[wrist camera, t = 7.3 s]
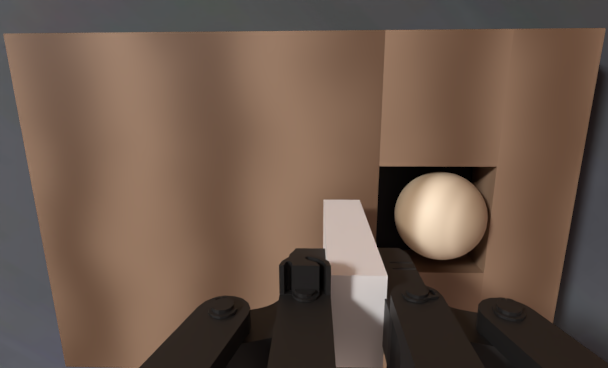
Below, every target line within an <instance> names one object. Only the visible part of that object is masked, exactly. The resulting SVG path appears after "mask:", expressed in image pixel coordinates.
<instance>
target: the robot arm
mask: <svg viewBox="0 0 608 368" xmlns="http://www.w3.org/2000/svg"><path fill="white" fill-rule="evenodd" d="M279 294H280V295H279V300H278V301H276V302H275V303H273V304H271V305H269V306H266V307H262V308H258V309H252V310H250V306H249V303H248V302H247V301H246V300H244V299H243V298H240V297H236V296H227V295H225V296H218V297H214V298H212V299H209V300H207V301H205V302H203V303H202V304H201V305H199V306H198V307H197V308H196V309H195V310H194V311H193V312H192V313H191V314H190V315H189V316H188V317H187V318H186V319H185V321H184V322H183V323H182V324H181V325H180V326H179V327H178V328H177V329H176V330H175V331H174V332H173V333H172V334H171V335H170V336H169V337H168V338H167V339H166V340H165V341H164V342H163V343H162V344H161V345H160V346H159V347H158V349H157V350H156V351H155V352H154V353H153V354H152V355H151V356H150V357H149V358H148V359H147V360H146V361H145V362H144V363H143V364H142V365H141V366H140V367H139V368H336V367H352V368H383V353H384V355H385V359H386V363H387V367H386V368H608V363H607V362H605V361H604V360H602V359H601V358H600V357H598V356H597V355H596V354H594V353H593V352H591V351H590V350H589V349H587V348H586V347H584V346H583V345H582V344H580V343H579V342H578V341H576V340H575V339H573V338H572V337H571V336H569V335H568V334H566V333H565V332H564V331H562V330H561V329H560V328H558V327H557V326H555V325H554V324H553V323H551V322H550V321H548V320H547V319H546V318H544V317H543V316H542V315H540V314H539V313H537V312H536V311H535V310H533V309H532V308H530V307H528V306H526V305H525V304H523V303H520V302H517V301H515V300H513V299H509V298H507V299H505V298H502V297H499V298H488V299H484V300H482V301H481V302H480V303H479V304H478V312H477V313H476V312H471V311H466V310H460V309H456V308H452V307H450V306H448V304H447V302H446V301H445V299H444V297H443V296H442V295H441V294H440V293H439V292H438V291H437V290H435V289H433V288H431V287H429V286H426V285H425V284H424V282H423V280H422V278H421V276H420V275H419V273H418V271H417V270H416V267H415V265H414V264H413V262H412V260H411V258H410V256H409V254H407V253H406V252H404V251H403V250H401V249H400V248H377V245H376V243H375V240H374V237H373V235H372V232H371V229H370V227H369V224H368V221H367V218H366V216H365V213H364V210H363V208H362V205H361V202H360V200H323V248H296V249H295V250H294V251H293V252H292V253H291V254H289V257H288V258H286V259H284V260H282V261H281V263H280V264H279Z"/></svg>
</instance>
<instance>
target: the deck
mask: <svg viewBox="0 0 608 368" xmlns="http://www.w3.org/2000/svg"><path fill="white" fill-rule="evenodd" d="M605 29H606V28H569V29H459V30H349V31H239V32H129V33H19V34H3V35H4V40H5V45H6V51H7V56H8V61H9V67H10V72H11V77H12V83H13V88H14V93H15V99H16V104H17V109H18V114H19V120H20V125H21V130H22V136H23V141H24V146H25V152H26V157H27V162H28V168H29V173H30V178H31V184H32V189H33V194H34V200H35V205H36V210H37V216H38V221H39V226H40V231H41V237H42V242H43V247H44V253H45V258H46V263H47V269H48V274H49V279H50V285H51V290H52V295H53V301H54V306H55V311H56V317H57V322H58V327H59V333H60V338H61V343H62V348H63V354H64V359H65V364H66V366H67V367H120V368H139V367H140V366H141V365H142V364H143V363H144V362H145V361H146V360H147V359H148V358H149V357H150V356H151V355H152V354H153V353H154V352H155V351H156V350H157V349H158V347H159V346H160V345H161V344H162V343H163V342H164V341H165V340H166V339H167V338H168V337H169V336H170V335H171V334H172V333H173V332H174V331H175V330H176V329H177V328H178V327H179V326H180V325H181V324H182V323H183V322H184V321H185V319H186V318H187V317H188V316H189V315H190V314H191V313H192V312H193V311H194V310H195V309H196V308H197V307H198V306H199V305H201V304H202V303H203V302H205V301H207V300H209V299H212V298H214V297H218V296H225V295H227V296H236V297H240V298H243V299H244V300H246V301H247V302H248V303H249V306H250V310H252V309H258V308H262V307H266V306H269V305H271V304H273V303H275V302H276V301H278V300H279V295H280V294H279V264H280V263H281V261H282V260H284V259H286V258H288V257H289V254H291V253H292V252H293V251H294V250H295V249H296V248H323V200H360V202H361V205H362V208H363V210H364V213H365V216H366V218H367V221H368V224H369V227H370V229H371V232H372V235H373V237H374V240H375V243H376V228H377V206H378V184H379V166H433V167H473V171H472V180H471V183H472V184H473V185H474V186H475V187H476V188H477V189H478V191H479V192H480V193H481V195H482V197H483V199H484V201H485V204H486V207H487V213H488V221H487V227H486V230H485V233H484V235H483V237H482V239H481V240H480V242H479V243H478V244H477V245H476V246H475V247H474V248H473V249H472V250H471V251H469V252H468V253H466V254H465V255H462V256H460V257H457V258H454V259H449V260H436V259H431V258H427V257H424V256H422V255H420V254H418V253H416V252H415V251H413V250H403V251H404V252H406V253H407V254H409V256H410V258H411V260H412V262H413V264H414V265H415V267H416V270H417V271H418V273H419V275H420V276H421V278H422V280H423V282H424V284H425V285H426V286H429V287H431V288H433V289H435V290H437V291H438V292H439V293H440V294H441V295H442V296H443V297H444V299H445V301H446V302H447V304H448V306H450V307H452V308H456V309H460V310H466V311H471V312H476V313H477V312H478V304H479V303H480V302H481V301H482V300H484V299H488V298H499V297H502V298H505V299H507V298H509V299H513V300H515V301H517V302H520V303H523V304H525V305H526V306H528V307H530V308H532V309H533V310H535V311H536V312H537V313H539V314H540V315H542V316H543V317H544V318H546V319H547V320H548V321H550V322H551V323H553V319H554V314H555V308H556V303H557V297H558V291H559V286H560V280H561V275H562V269H563V264H564V258H565V252H566V247H567V241H568V236H569V230H570V225H571V219H572V213H573V208H574V202H575V197H576V191H577V186H578V180H579V174H580V169H581V163H582V158H583V152H584V146H585V141H586V135H587V130H588V124H589V119H590V113H591V107H592V102H593V96H594V91H595V85H596V80H597V74H598V68H599V63H600V57H601V52H602V46H603V41H604V35H605ZM386 367H387V363H386V359H385V355H384V353H383V368H386ZM336 368H352V367H336Z"/></svg>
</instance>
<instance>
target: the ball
mask: <svg viewBox="0 0 608 368" xmlns="http://www.w3.org/2000/svg"><path fill="white" fill-rule="evenodd" d="M487 221H488V213H487V207H486V204H485V201H484V199H483V197H482V195H481V193H480V192H479V191H478V189H477V188H476V187H475V186H474V185H473V184H472V183H471V182H469V181H468V180H467V179H465V178H463V177H461V176H459V175H456V174H453V173H449V172H431V173H427V174H424V175H421V176H419V177H417V178H415V179H414V180H412V181H411V182H410V183H408V184H407V185H406V186H405V188H404V189H403V190H402V192H401V193H400V195H399V197H398V199H397V202H396V205H395V224H396V227H397V230H398V233H399V235H400V236H401V238H402V239H403V241H404V242H405V243H406V244H407V245H408V246H409V247H410V248H411V249H412V250H413V251H415V252H416V253H418V254H420V255H422V256H424V257H427V258H431V259H436V260H449V259H454V258H457V257H460V256H462V255H465V254H466V253H468V252H469V251H471V250H472V249H473V248H474V247H475V246H476V245H477V244H478V243H479V242H480V240H481V239H482V237H483V235H484V233H485V230H486V227H487Z"/></svg>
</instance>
